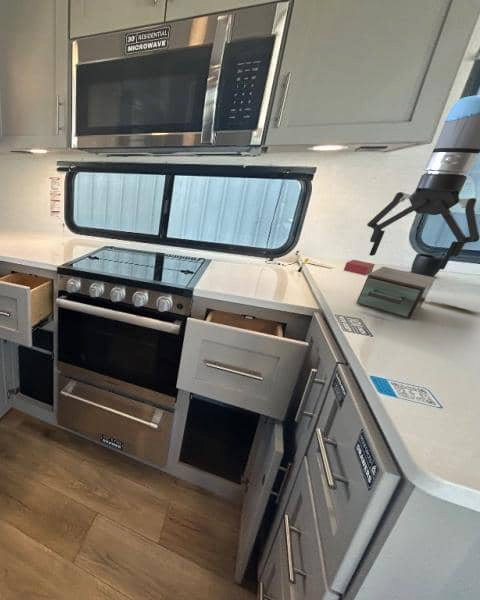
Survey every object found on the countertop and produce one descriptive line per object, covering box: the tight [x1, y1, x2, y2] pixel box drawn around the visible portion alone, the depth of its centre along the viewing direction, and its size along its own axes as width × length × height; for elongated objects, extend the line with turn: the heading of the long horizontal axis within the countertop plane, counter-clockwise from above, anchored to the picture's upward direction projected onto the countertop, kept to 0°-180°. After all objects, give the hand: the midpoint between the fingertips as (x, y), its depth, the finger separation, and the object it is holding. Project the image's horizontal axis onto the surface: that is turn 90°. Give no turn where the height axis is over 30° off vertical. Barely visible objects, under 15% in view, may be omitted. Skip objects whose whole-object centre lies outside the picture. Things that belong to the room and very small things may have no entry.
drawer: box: [358, 278, 421, 317], centre depth 97 cm, size 21×11×8 cm, turn 128°
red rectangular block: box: [343, 259, 376, 276], centre depth 130 cm, size 7×9×5 cm
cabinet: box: [355, 266, 437, 320], centre depth 100 cm, size 17×13×10 cm
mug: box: [410, 253, 445, 278], centre depth 131 cm, size 8×12×10 cm
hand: (404, 261), depth 85 cm, fingers open, 13 cm apart
